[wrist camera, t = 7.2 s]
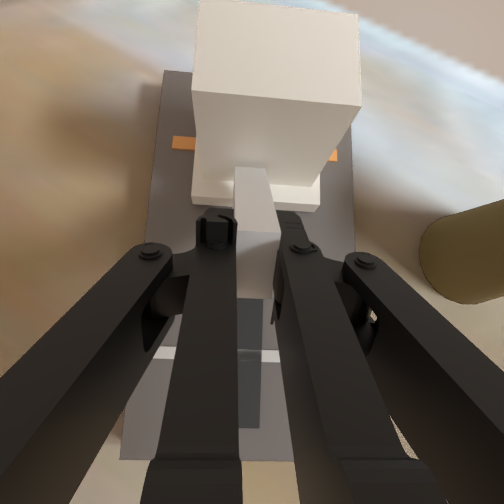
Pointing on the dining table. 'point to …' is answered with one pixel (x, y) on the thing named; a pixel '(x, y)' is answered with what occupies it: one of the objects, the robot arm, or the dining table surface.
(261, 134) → the slider handle
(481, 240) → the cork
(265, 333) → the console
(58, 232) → the dining table surface
